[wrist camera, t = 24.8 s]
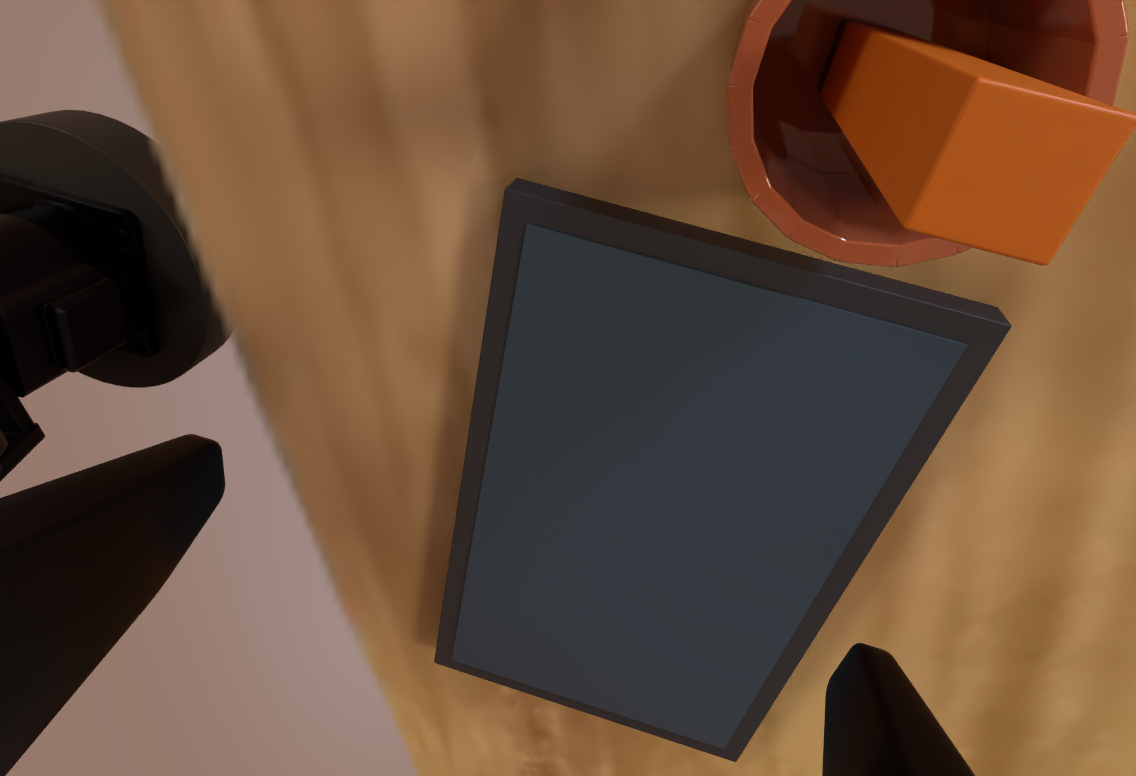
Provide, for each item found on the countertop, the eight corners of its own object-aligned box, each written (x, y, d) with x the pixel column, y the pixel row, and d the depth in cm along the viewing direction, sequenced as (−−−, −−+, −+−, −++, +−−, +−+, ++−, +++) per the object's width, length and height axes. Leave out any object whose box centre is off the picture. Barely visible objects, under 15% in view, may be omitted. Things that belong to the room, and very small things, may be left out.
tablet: (443, 641, 32) (432, 664, 31) (516, 177, 20) (503, 189, 19) (736, 737, 31) (736, 765, 30) (998, 307, 19) (1014, 327, 18)
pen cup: (701, 154, 19) (685, 221, 14) (784, -124, 15) (805, -173, 10) (925, 213, 18) (995, 304, 13) (1062, -61, 15) (1227, -80, 10)
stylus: (814, 90, 17) (902, 230, 8) (841, 17, 16) (977, 76, 7) (879, 106, 17) (1049, 268, 7) (910, 33, 16) (1144, 117, 7)
